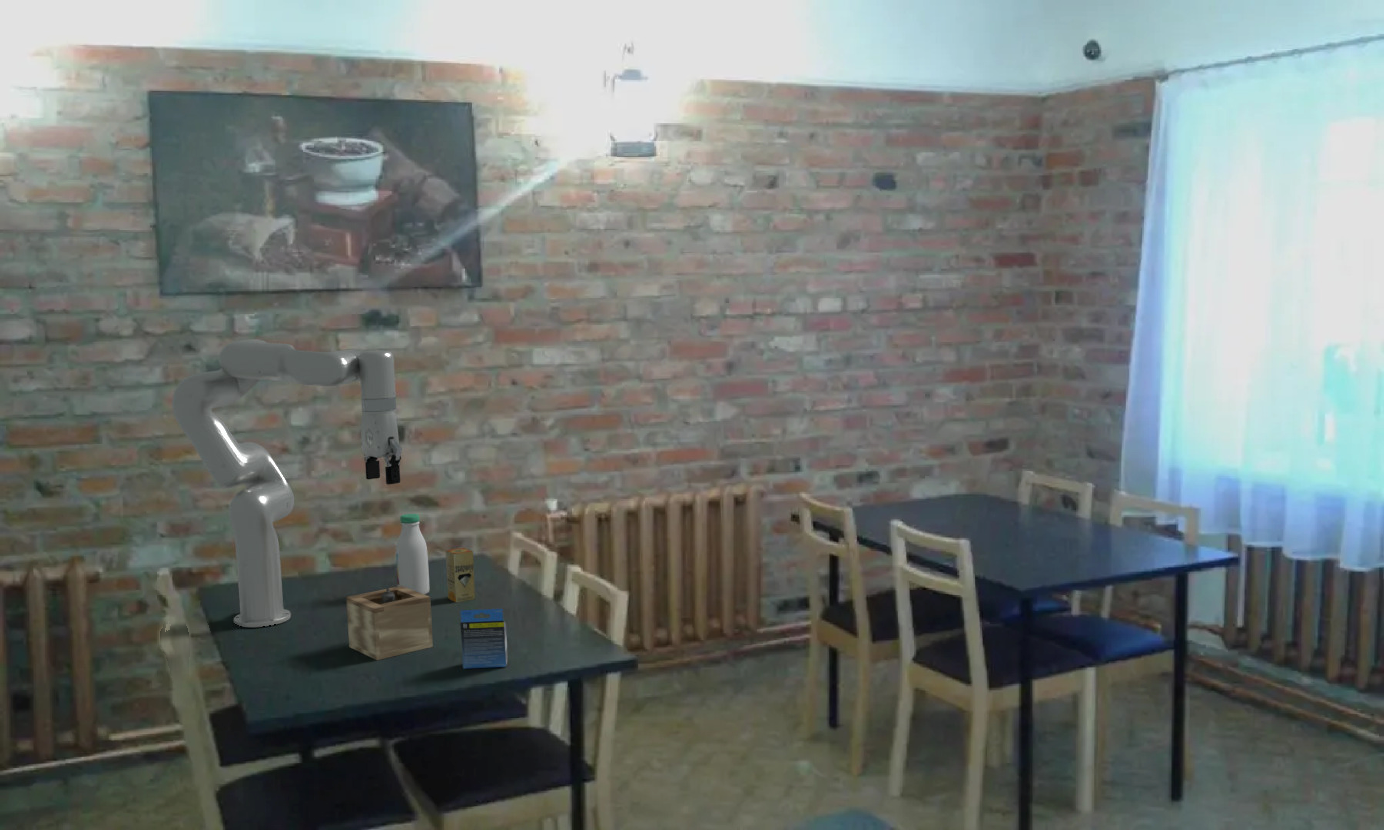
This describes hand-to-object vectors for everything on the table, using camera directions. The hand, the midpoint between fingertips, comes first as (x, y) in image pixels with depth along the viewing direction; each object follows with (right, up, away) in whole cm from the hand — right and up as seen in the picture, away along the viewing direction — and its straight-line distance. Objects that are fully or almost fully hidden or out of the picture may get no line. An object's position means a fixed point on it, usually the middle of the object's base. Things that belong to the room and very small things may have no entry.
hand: (383, 481), depth 280 cm
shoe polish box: (+13, -30, +25) cm, 41 cm away
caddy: (+5, -35, -13) cm, 38 cm away
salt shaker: (+5, -34, -13) cm, 37 cm away
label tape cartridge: (+28, -36, -27) cm, 53 cm away
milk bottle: (0, -30, +31) cm, 43 cm away
